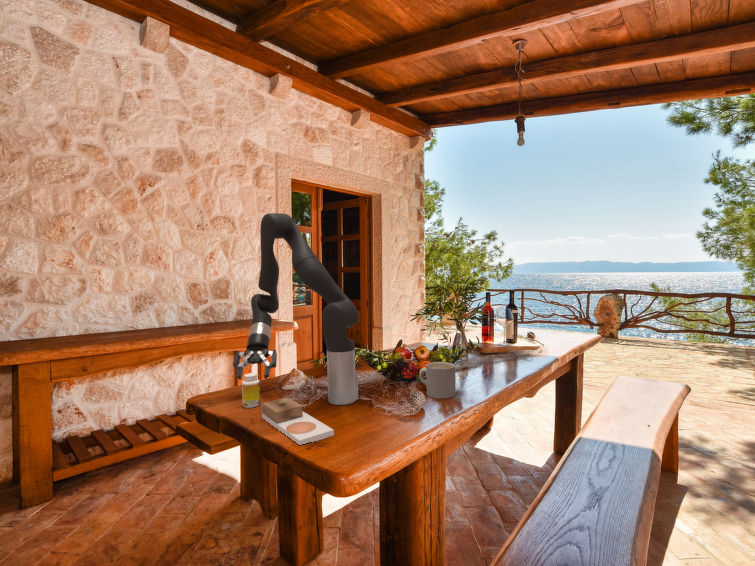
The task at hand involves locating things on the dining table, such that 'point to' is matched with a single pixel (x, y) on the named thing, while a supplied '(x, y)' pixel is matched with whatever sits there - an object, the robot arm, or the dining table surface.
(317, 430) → the board
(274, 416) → the cover
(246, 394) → the supplement bottle
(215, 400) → the dining table surface
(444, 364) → the coffee mug
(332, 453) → the dining table surface
